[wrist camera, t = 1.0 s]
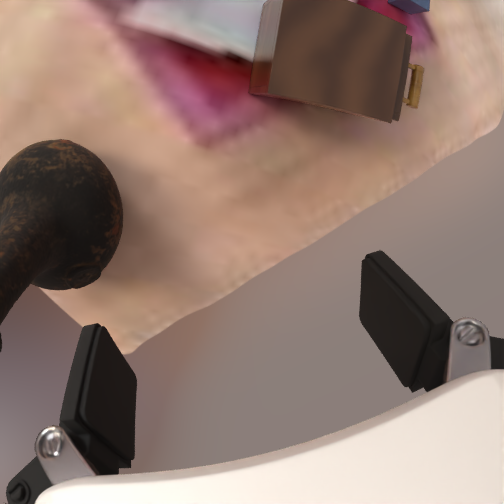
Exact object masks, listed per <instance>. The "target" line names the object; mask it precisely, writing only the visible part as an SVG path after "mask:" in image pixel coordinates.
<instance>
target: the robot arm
mask: <svg viewBox="0 0 504 504" xmlns="http://www.w3.org/2000/svg"><path fill="white" fill-rule="evenodd" d="M359 317H360V321H361V323H362V325H363V326H364V328H365V329H366V331H367V332H368V333H369V335H370V336H371V338H372V339H373V341H374V342H375V344H376V345H377V347H378V348H379V350H380V351H381V353H382V354H383V356H384V357H385V359H386V360H387V362H388V363H389V365H390V366H391V368H392V369H393V371H394V372H395V374H396V375H397V377H398V378H399V380H400V381H401V383H402V384H403V386H404V387H409V388H410V390H411V391H412V392H415V391H417V390H419V389H421V388H423V387H424V389H425V390H426V391H427V393H425V394H423V395H421V396H419V397H417V398H415V399H413V400H411V401H409V402H406V403H404V404H402V405H400V406H398V407H395V408H393V409H391V410H389V411H387V412H384V413H382V414H380V415H378V416H375V417H373V418H370V419H368V420H366V421H363V422H361V423H358V424H356V425H353V426H351V427H348V428H345V429H342V430H340V431H337V432H334V433H331V434H328V435H326V436H323V437H320V438H317V439H314V440H311V441H307V442H304V443H301V444H298V445H294V446H291V447H287V448H284V449H280V450H276V451H273V452H269V453H265V454H261V455H257V456H252V457H248V458H243V459H239V460H234V461H229V462H224V463H218V464H213V465H207V466H201V467H194V468H188V469H179V470H170V471H161V472H149V473H137V474H121V475H118V474H119V468H131V460H133V459H134V456H135V410H136V390H137V379H136V376H135V373H134V372H133V370H132V369H131V367H130V366H129V364H128V363H127V361H126V360H125V358H124V357H123V355H122V353H121V352H120V350H119V349H118V347H117V346H116V344H115V342H114V341H113V339H112V337H111V336H110V334H109V332H108V331H107V329H106V328H105V327H104V326H102V327H101V325H100V324H98V323H96V324H92V325H87V326H84V327H83V329H82V331H81V335H80V338H79V342H78V345H77V349H76V352H75V356H74V359H73V363H72V367H71V371H70V375H69V379H68V383H67V387H66V391H65V396H64V400H63V405H62V410H61V415H60V424H59V426H55V425H52V426H48V427H46V428H44V429H43V430H42V431H41V432H40V433H39V434H38V436H37V438H36V441H35V452H36V455H37V456H36V457H35V458H34V459H33V460H32V461H31V462H30V463H29V464H28V465H27V466H25V467H24V468H23V469H22V470H21V471H20V472H19V473H18V474H17V475H16V476H15V477H14V478H13V479H12V480H11V481H10V482H9V484H8V486H7V490H6V496H7V500H8V504H504V339H501V338H496V337H491V336H489V331H488V329H487V328H486V326H485V325H484V324H483V323H482V322H480V321H478V320H476V319H474V318H469V317H467V318H466V317H465V318H460V319H458V320H456V321H455V322H453V321H452V320H451V319H450V318H449V316H448V315H447V314H446V313H445V312H444V311H443V310H442V309H441V308H440V307H439V306H438V305H437V304H436V303H435V302H434V301H433V300H432V299H431V298H430V297H429V296H428V295H427V294H426V293H425V292H424V291H423V290H422V289H421V288H420V287H419V286H418V285H417V284H416V283H415V282H414V281H413V280H412V279H411V278H410V277H409V276H408V275H407V274H406V273H405V272H404V271H403V270H402V269H401V268H400V267H399V266H398V265H397V264H396V263H395V262H394V261H393V260H392V259H391V258H389V257H388V256H387V255H386V254H385V253H384V252H383V251H376V252H373V253H370V254H367V255H366V257H365V259H364V260H362V271H361V295H360V311H359ZM4 504H6V503H4Z"/></svg>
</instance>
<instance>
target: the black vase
mask: <svg viewBox="0 0 504 504" xmlns="http://www.w3.org/2000/svg"><path fill="white" fill-rule="evenodd" d="M122 226H123V209H122V202H121V197H120V194H119V190H118V188H117V185H116V182H115V180H114V178H113V176H112V175H111V173H110V171H109V170H108V168H107V167H106V166H105V165H104V163H103V162H102V161H101V160H100V159H99V158H98V157H97V156H96V155H95V154H93V153H92V152H91V151H89V150H88V149H86V148H84V147H82V146H80V145H78V144H76V143H73V142H72V141H69V140H62V139H60V140H49V141H42V142H38V143H35V144H33V145H30V146H28V147H26V148H24V149H23V150H21V151H20V152H18V153H17V154H16V155H15V156H14V157H12V158H11V159H10V160H9V161H8V163H7V164H6V165H5V167H4V168H3V169H2V171H1V172H0V325H1V323H2V321H3V320H4V319H5V317H6V316H7V314H8V312H9V310H10V309H11V308H12V307H13V305H14V303H15V302H16V301H17V300H18V298H19V297H20V296H21V294H22V293H23V292H24V291H25V289H26V288H27V287H28V286H29V285H30V284H33V285H35V286H38V287H41V288H44V289H49V290H67V289H71V288H75V289H78V288H81V287H85V286H87V285H89V284H91V283H93V282H94V281H95V280H97V279H98V278H99V277H100V275H101V272H102V271H103V269H104V268H105V267H106V266H107V264H108V263H109V262H110V260H111V258H112V257H113V255H114V253H115V251H116V248H117V246H118V244H119V240H120V237H121V232H122ZM1 349H2V339H1V333H0V352H1Z"/></svg>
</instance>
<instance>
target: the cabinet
mask: <svg viewBox="0 0 504 504" xmlns="http://www.w3.org/2000/svg"><path fill="white" fill-rule="evenodd" d="M406 28H407V26H405V25H403V24H401V23H399V22H397V21H395V20H393V19H391V18H389V17H386V16H384V15H382V14H380V13H378V12H375V11H373V10H371V9H368V8H366V7H363V6H361V5H358V4H356V3H353V2H351V1H348V0H267V1H266V2H265V3H264V4H263V9H262V14H261V20H260V26H259V31H258V37H257V43H256V49H255V55H254V61H253V67H252V73H251V79H250V85H249V92H248V93H249V94H256V95H262V96H268V97H274V98H280V99H286V100H291V101H296V102H301V103H306V104H311V105H315V106H320V107H324V108H328V109H332V110H337V111H341V112H344V113H348V114H352V115H357V116H362V117H366V118H371V119H375V120H379V121H383V122H387V123H391V122H392V117H393V112H394V107H395V102H396V96H397V91H398V85H399V79H400V73H401V66H402V59H403V52H404V45H405V37H406Z"/></svg>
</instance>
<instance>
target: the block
mask: <svg viewBox="0 0 504 504" xmlns="http://www.w3.org/2000/svg"><path fill="white" fill-rule="evenodd" d="M388 3H390V4H392V5H394V6H396V7H398V8H400V9H402V10H404V11H406V12H408V13H409V14H415V13H421V12H427V11H429V7H430V0H388Z"/></svg>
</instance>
